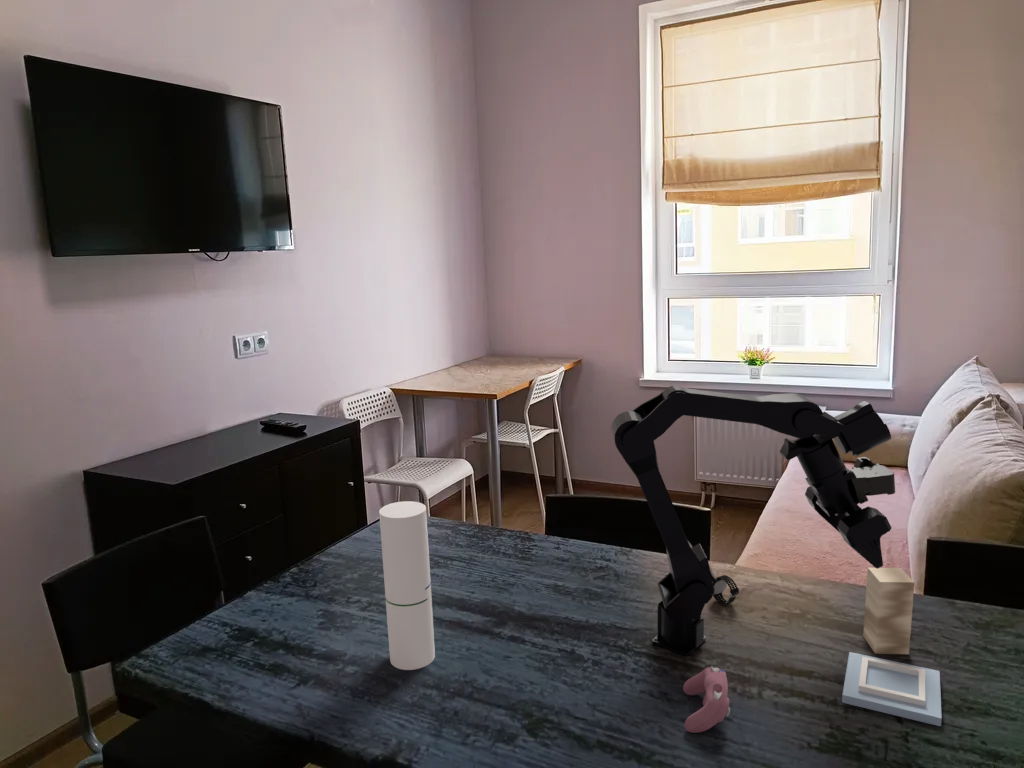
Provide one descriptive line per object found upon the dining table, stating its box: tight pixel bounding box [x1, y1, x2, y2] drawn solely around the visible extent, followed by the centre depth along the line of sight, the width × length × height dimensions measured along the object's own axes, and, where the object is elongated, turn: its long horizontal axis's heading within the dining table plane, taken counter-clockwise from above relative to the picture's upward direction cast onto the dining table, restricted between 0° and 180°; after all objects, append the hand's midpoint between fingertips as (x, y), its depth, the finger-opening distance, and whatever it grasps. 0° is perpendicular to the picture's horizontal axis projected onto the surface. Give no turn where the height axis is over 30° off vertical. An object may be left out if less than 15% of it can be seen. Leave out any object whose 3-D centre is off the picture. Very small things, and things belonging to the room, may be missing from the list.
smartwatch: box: [712, 574, 740, 606], centre depth 131 cm, size 4×5×5 cm
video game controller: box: [682, 665, 731, 734], centre depth 102 cm, size 10×5×7 cm, turn 168°
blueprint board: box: [841, 651, 942, 727], centre depth 106 cm, size 12×12×2 cm
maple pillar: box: [862, 567, 915, 655], centre depth 116 cm, size 5×5×12 cm
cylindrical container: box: [379, 500, 436, 671], centre depth 116 cm, size 7×7×25 cm
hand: (866, 554), depth 116 cm, fingers open, 9 cm apart
